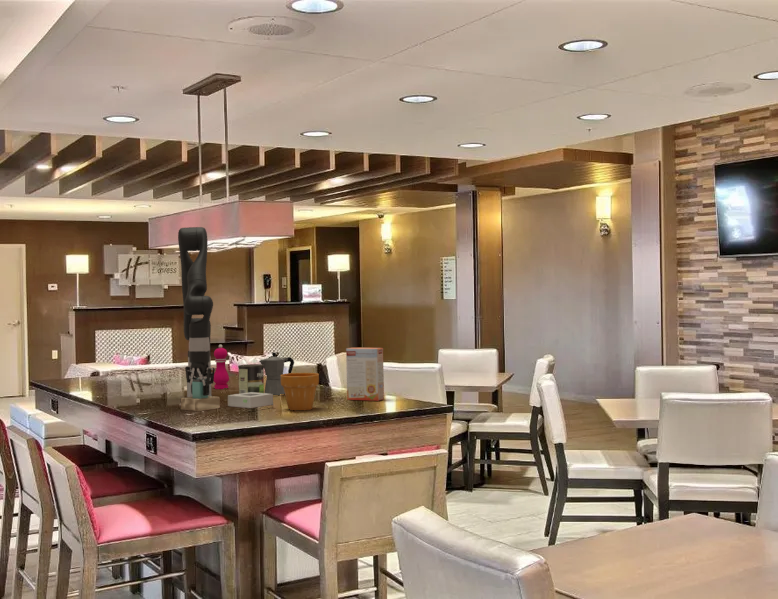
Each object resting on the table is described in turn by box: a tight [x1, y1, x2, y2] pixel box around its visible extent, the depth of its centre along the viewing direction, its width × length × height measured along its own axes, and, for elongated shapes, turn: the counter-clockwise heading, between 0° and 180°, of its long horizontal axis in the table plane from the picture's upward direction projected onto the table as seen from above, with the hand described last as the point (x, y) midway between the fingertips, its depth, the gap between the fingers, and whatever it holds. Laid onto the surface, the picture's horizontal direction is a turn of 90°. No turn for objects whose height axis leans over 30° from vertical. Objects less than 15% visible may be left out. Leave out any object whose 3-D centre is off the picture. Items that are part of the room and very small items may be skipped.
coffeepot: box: [258, 351, 295, 395], centre depth 386 cm, size 15×9×18 cm, turn 113°
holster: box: [180, 395, 221, 412], centre depth 338 cm, size 10×10×5 cm
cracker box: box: [345, 347, 385, 402], centre depth 364 cm, size 14×6×21 cm, turn 65°
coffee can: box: [237, 363, 265, 394], centre depth 370 cm, size 10×10×14 cm
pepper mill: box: [213, 344, 230, 390], centre depth 413 cm, size 7×7×20 cm
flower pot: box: [281, 372, 320, 411], centre depth 339 cm, size 14×14×13 cm
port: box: [227, 392, 274, 409], centre depth 345 cm, size 12×12×5 cm
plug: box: [192, 379, 208, 399], centre depth 338 cm, size 4×4×11 cm
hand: (200, 394), depth 338 cm, fingers open, 5 cm apart
